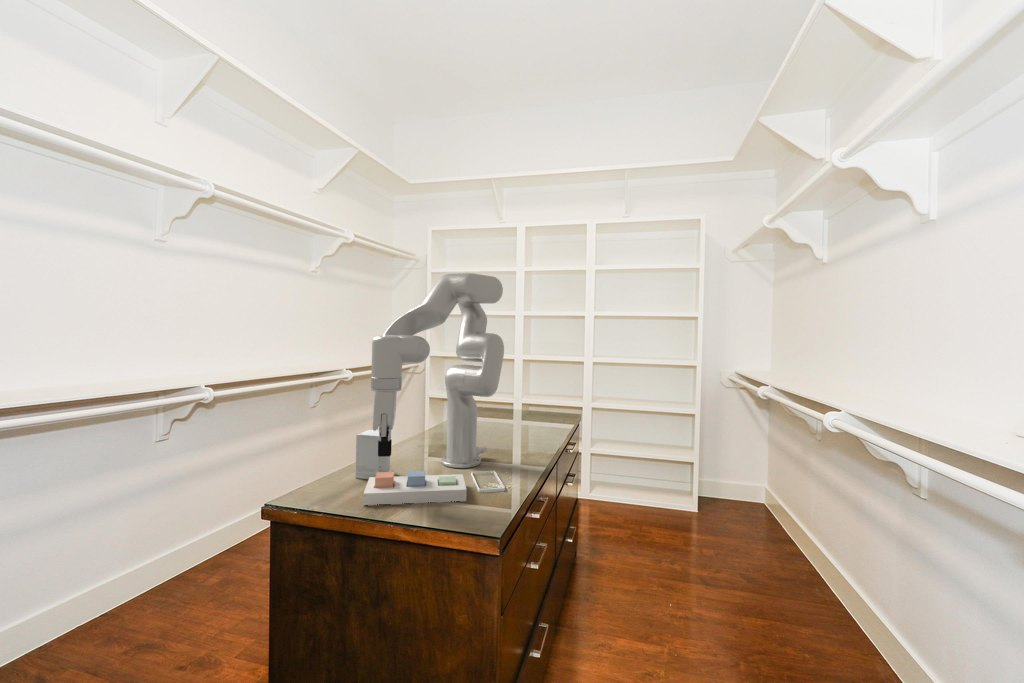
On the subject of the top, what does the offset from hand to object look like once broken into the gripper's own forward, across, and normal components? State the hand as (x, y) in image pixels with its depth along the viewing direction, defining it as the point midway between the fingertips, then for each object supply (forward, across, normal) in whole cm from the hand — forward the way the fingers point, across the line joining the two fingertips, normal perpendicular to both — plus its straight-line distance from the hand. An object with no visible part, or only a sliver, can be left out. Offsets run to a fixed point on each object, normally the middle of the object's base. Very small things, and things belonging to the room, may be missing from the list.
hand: (384, 455), depth 119 cm
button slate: (+8, 0, +8) cm, 12 cm away
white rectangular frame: (+11, -8, +28) cm, 31 cm away
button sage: (+10, 0, +16) cm, 19 cm away
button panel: (+10, 0, +8) cm, 13 cm away
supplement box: (+11, -17, -4) cm, 21 cm away
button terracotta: (+8, 0, 0) cm, 8 cm away
